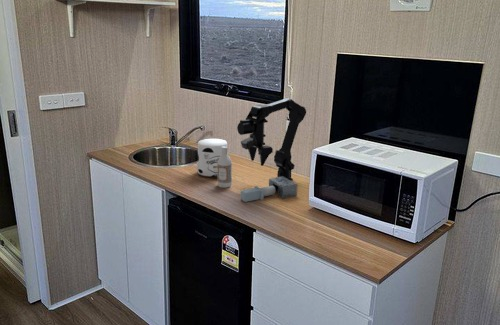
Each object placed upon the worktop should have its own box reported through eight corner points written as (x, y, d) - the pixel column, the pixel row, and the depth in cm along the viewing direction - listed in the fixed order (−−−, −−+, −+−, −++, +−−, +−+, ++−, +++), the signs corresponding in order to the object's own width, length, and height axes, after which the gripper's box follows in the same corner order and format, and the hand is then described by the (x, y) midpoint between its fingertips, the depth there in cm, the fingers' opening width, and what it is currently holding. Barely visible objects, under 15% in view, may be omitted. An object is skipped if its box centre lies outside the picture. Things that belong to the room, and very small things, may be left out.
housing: (282, 187, 216) (282, 176, 215) (296, 195, 206) (297, 183, 205) (268, 190, 213) (269, 178, 211) (282, 198, 203) (282, 186, 201)
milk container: (217, 182, 223) (217, 148, 217) (190, 176, 231) (189, 143, 226) (235, 172, 237) (235, 140, 232) (208, 167, 245) (208, 136, 240)
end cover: (269, 192, 210) (269, 183, 208) (276, 196, 204) (276, 187, 203) (239, 198, 202) (239, 188, 200) (246, 203, 197) (246, 193, 195)
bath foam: (215, 187, 216) (215, 148, 210) (220, 182, 222) (220, 144, 216) (228, 188, 214) (228, 149, 208) (233, 184, 220) (233, 145, 214)
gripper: (234, 129, 214) (233, 160, 219) (253, 138, 198) (252, 170, 203) (253, 127, 219) (253, 157, 224) (273, 135, 204) (272, 167, 208)
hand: (257, 163), depth 215 cm, fingers open, 9 cm apart
